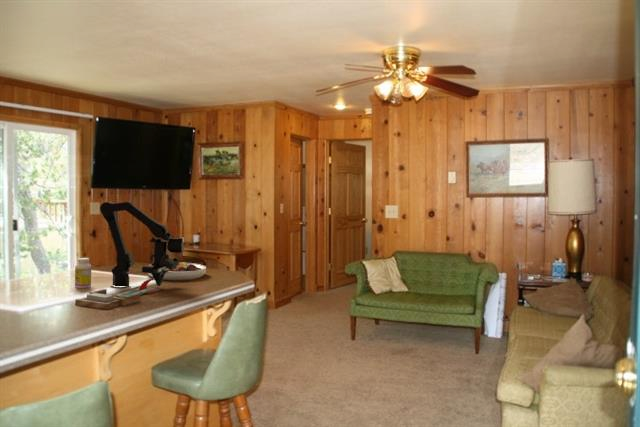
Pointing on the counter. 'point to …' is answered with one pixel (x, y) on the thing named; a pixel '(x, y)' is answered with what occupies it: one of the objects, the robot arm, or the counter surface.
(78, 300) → the jig
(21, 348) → the counter surface
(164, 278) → the bowl
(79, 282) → the supplement bottle
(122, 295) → the toy spaceship
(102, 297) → the matte grey rectangular prism
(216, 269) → the counter surface
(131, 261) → the robot arm
